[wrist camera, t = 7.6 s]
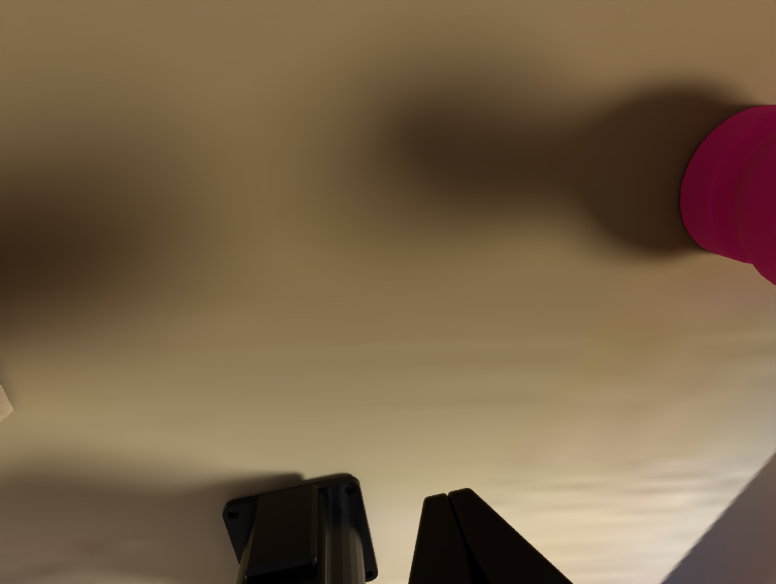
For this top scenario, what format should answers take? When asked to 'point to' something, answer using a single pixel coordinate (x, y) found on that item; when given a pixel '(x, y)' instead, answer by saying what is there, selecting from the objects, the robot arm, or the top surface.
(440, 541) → the robot arm
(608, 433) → the top surface
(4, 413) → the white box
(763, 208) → the pepper mill
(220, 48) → the top surface
